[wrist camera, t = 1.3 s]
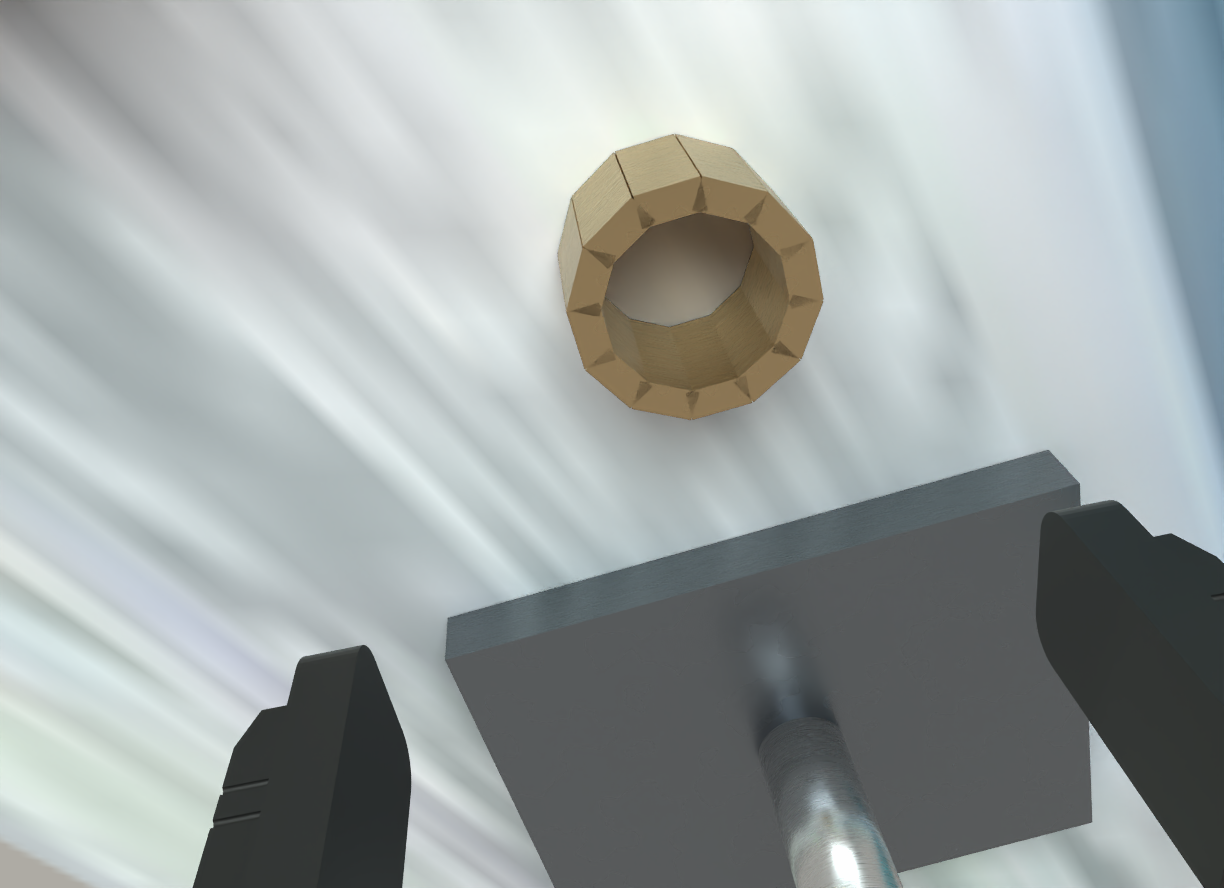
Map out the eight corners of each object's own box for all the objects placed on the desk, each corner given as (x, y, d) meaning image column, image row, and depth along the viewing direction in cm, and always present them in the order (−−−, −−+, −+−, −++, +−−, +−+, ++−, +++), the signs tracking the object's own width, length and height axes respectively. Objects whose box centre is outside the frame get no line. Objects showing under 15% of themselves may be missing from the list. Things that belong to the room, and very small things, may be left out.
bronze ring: (756, 108, 26) (797, 147, 23) (797, 316, 29) (837, 378, 26) (532, 176, 26) (538, 224, 23) (595, 375, 29) (608, 444, 26)
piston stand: (1048, 449, 32) (1223, 638, 24) (1066, 781, 40) (1202, 1000, 33) (447, 618, 33) (433, 850, 25) (583, 908, 41) (602, 1151, 34)
